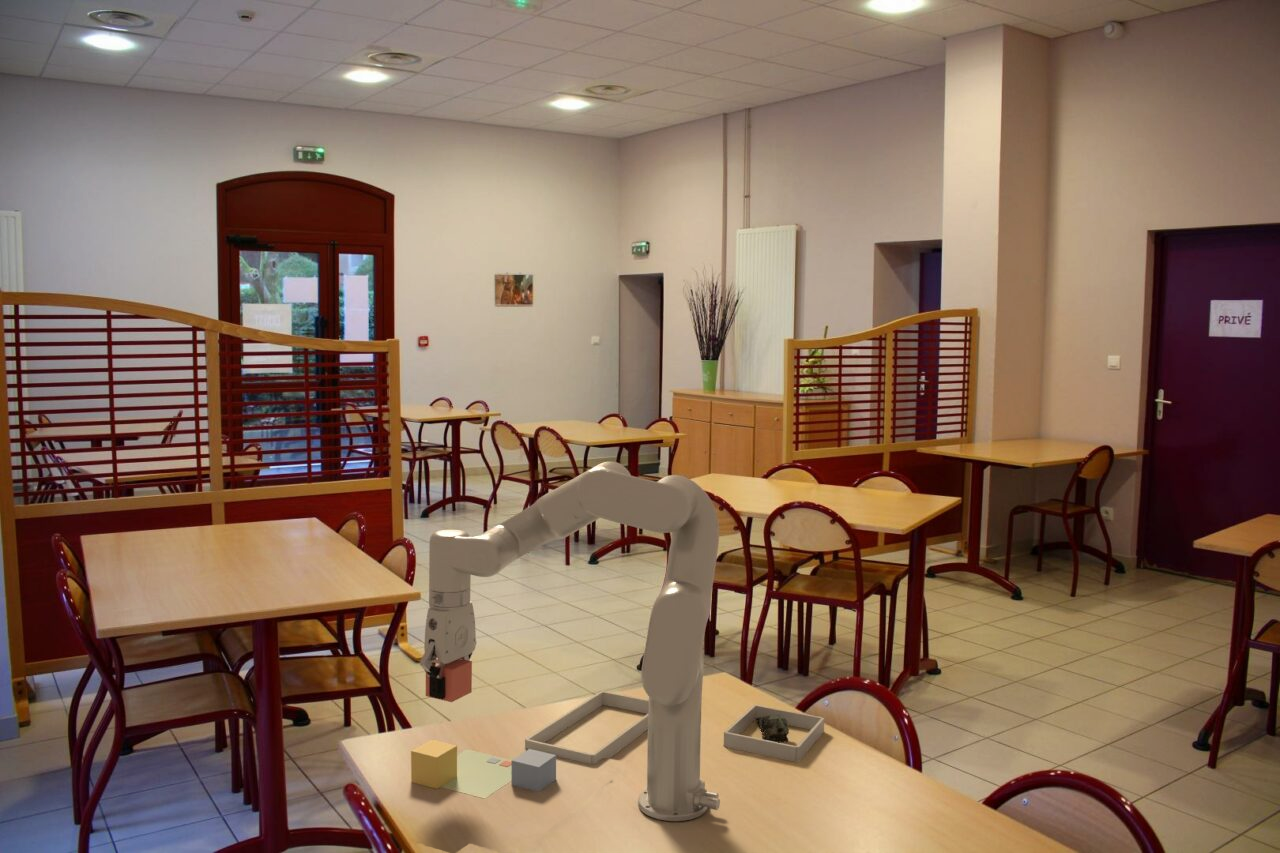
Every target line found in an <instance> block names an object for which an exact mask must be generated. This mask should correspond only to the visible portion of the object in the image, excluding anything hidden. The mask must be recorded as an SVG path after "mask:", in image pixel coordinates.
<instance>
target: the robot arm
mask: <svg viewBox="0 0 1280 853" xmlns="http://www.w3.org/2000/svg"><path fill="white" fill-rule="evenodd" d="M718 517H719V516H718V514H717V511H716V508H715V505H714V502H713V501H712V499H711V498H710V496H709V495H708V493H707V492H706V491H705V490H704V489H703V488H702V487H701V486H700V484H697V483H696V482H695V481H694V480H692V479H690V478H688V477H686V476H683V475H679V474H671V475H670V474H669V475H667V476H665V477H662V478H660V479H659V480H657V481H655V480H650V479H646V478H642V477H639V476H634V475H632V474H631V473H630V471H629V470H628V469H627V468H626V467H625V466H624V465H622V464H621V463H620V462H617V461H604V462H601V463H598V464H597V465H595V466H593V467H591V468H589V469H588V470H586V471H584V472H582V473H581V474H579V475H577V476H575V477H574V478H573V479H570V480H568V481H567V482H565V483H564V484H562V485H560V486H558V487H557V488H555V489H553V490H551V491H549V492H547V493H545V494H544V495H542V496H541V497H539V498H538V499H537V500H536V501H535V502H533V504H531V505H530V506H529V507H526V508H525V509H523V510H522V511H520V512H518V513H517V514H515V515H513V516H511V517H510V518H508V519H506V520H504V521H502V522H501V523H499V524H497V525H495V526H493V527H491V528H489V529H488V530H486V531H484V532H483V533H481V534H478V535H475V536H471V535H470V534H469V533H468V532H467V531H464V530H459V529H439V530H437V531H435V532H433V533H432V534H431V536H430V538H429V546H428V548H429V549H428V550H429V552H428V553H429V554H428V555H429V557H428V558H429V562H428V567H429V570H428V574H429V575H428V579H429V580H428V606H429V607H428V609H427V614H426V621H425V629H424V647H423V649H424V652H423V655H422V656H421V658H420V661H419V666H420V667H421V668H422V669H423V670H424V672H425V674H426V673H427V676H429V677H430V678H429V695H430V697H429V698H431V697H434V698H433V699H435V698H438V699H437V700H440V699H444V698H445V678H444V677H443V674H444V670H445V665H446V664H448V663H451V662H453V661H456V660H458V659H464V660H469V661H471V660H470V659H471V657H472V655H473V653H474V651H475V650H476V646H477V638H476V631H477V630H476V620H475V619H476V617H475V611H474V606H473V601H472V600H471V577H472V576H476V577H479V578H489V577H493V576H495V575H497V574H499V573H500V572H501V571H502V570H504V569H505V568H506V567H508V566H509V565H511V564H512V563H513V562H515V561H516V560H518V559H520V558H522V557H523V556H525V555H527V554H529V553H530V552H532V551H534V550H535V549H538V548H539V547H541V546H543V545H545V544H547V543H550V542H552V541H555V540H562V539H564V538H567V537H569V536H571V535H572V534H574V533H575V532H577V531H579V530H581V529H583V528H585V527H587V526H588V525H590V524H592V523H593V522H595V521H597V520H599V519H604V520H607V521H610V522H614V523H616V524H621V525H626V526H630V527H632V528H633V527H634V528H637V529H642V530H646V531H649V532H654V533H660V534H666V533H667V534H668V533H671V540H670V545H669V551H668V558H667V566H666V570H665V571H666V572H665V577H664V581H663V585H662V588H661V590H660V592H659V593H658V596H657V597H656V599H655V601H654V603H653V605H652V608H651V612H650V617H649V623H648V628H647V633H646V634H647V635H646V640H645V647H644V652H643V659H642V665H641V672H640V677H641V678H640V679H641V684H642V687H643V689H644V691H645V694H646V695H647V697H648V700H649V707H648V729H647V762H646V763H647V770H646V773H647V774H646V789H645V790H643V791H642V792H641V793H640V794H639V796H638V799H637V801H638V802H637V805H638V807H639V809H640V811H642V813H644V814H645V815H646V816H648V817H651V818H653V819H656V820H661V821H666V822H684V821H690V820H694V819H697V818H698V817H702V815H703V814H705V813H706V812H707V810H708V809H710V810H715V811H718V810H719V808H720V807H721V805H720V804H721V800H720V798H719V793H718V792H713V791H708V790H707V789H706V781H705V780H702V779H701V734H702V725H701V724H702V701H703V699H702V698H703V697H702V696H703V683H704V682H703V681H704V680H703V679H704V655H703V651H702V649H703V645H704V639H705V632H706V627H707V624H708V619H709V617H710V614H711V610H712V609H711V608H712V606H711V605H712V593H713V591H712V590H713V587H714V586H713V585H714V580H715V579H714V578H715V573H716V564H717V558H718V550H719V543H720V542H719V541H720V526H719V518H718ZM436 663H438V664H439V668H438V669H437V668H436V667H435V665H436Z"/></svg>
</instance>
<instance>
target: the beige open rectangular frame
mask: <svg viewBox="0 0 1280 853" xmlns="http://www.w3.org/2000/svg"><path fill="white" fill-rule="evenodd" d="M602 706H608V707H613V708H616V709H617V708H618V709H622V710H626V711H632V712H636V713H642V714H645V715H644V716H643V717H641V718H640V719H638V720H637V721H636V722H634V723H633V724H631V726H629V727H628V728H626V729H624V731H622V732H621V733H619V734H618V735H617V736H615V737H614V738H612V739H611V740H610V741H609V742H607V743H605V745H603V746H602V747H600V748H599V749H598V750H596V751H595V752H593V753H591V752H590V753H588V752H586V751H582V750H581V751H580V750H576V749H572V748H567V747H563V746H559V745H554V744H550V743H547V742H548V741H550V740H552V737H553V738H555V737H556V736H557V735H559V734H560V733H562V732H563V731H565V730H566V729H568V728H569V726H570V727H571V726H572V724H573V725H574V724H576V723H577V722H578V721H580V720H582V719H584V718H585V717H586V716H588V715H589V714H591V713H593V712H594V711H595V710H598V709H599V708H600V707H602ZM648 707H649V699H645V698H640V697H636V696H632V695H631V696H630V695H626V694H621V693H615V692H609V691H603V690H601V691H598V693H596V694H593V696H591V697H589V698H587V699H586V700H585V701H583V702H582V703H580V704H578V705H577V706H575V707H574V708H572V709H570V710H569V711H568V712H566V713H564V714H562V715H561V716H559V717H558V718H556V719H555V720H553V721H552V722H550V723H548V724H547V725H545V726H543V727H542V728H541V729H539V730H538V731H536V732H534V733H533V734H531V735H530V736H528V737H526V738H525V739H524V749H526V750H528V749H532V750H537V751H541V752H545V753H549V754H554V755H556V757H558V758H563V759H565V760H566V759H567V760H572V761H576V762H580V763H584V764H589V765H596V764H597V763H599V762H600V761H601V760H602V759H604V758H606V759H611V758H612V757H613V756H615V755H616V754H617V753H618V752H620V751H621V750H623V749H625V747H626V746H628V745H629V744H630V743H632V742H633V741H635V740H636V739H637V738H638V737H639V736H641V735H643V732H644V733H645V732H646V731H648ZM567 727H568V728H567ZM564 729H565V730H564ZM562 730H563V731H562ZM561 731H562V732H561ZM559 732H560V733H559ZM558 733H559V734H558ZM556 734H557V735H556ZM555 735H556V736H555ZM549 739H550V740H549ZM546 741H547V742H546Z"/></svg>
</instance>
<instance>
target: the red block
mask: <svg viewBox="0 0 1280 853" xmlns="http://www.w3.org/2000/svg"><path fill="white" fill-rule="evenodd" d="M469 660H470V659H469ZM469 660H464V659H458V660H456V661H453V662H451V663H448V664H446V665H445V670H444V674H443V677H444V678H445V698H444V699H438V698H434V697H430V695H429V678H430V677H429V676H427V673H426V672H425V697H427V698H431V699H436V700H440V701H444V702H445V701H446V702H450V703H454V702H455V701H458V700H459V699H461V698H463V697H465V696H467V695H468V694H471V693H472V692H473V691H472V689H473V688H472V687H473V686H472V683H473V682H472V681H473V678H472V676H473V671H472V670H473V660H470V661H469ZM435 667H436V668H437V669H438V668H439V664H438V663H436V665H435Z"/></svg>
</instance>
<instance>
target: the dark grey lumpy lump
mask: <svg viewBox="0 0 1280 853" xmlns="http://www.w3.org/2000/svg"><path fill="white" fill-rule="evenodd" d="M755 720H756V724H757V727H758V728H759V730H760V729H761V730H760V731H761V732H762V735H763V736H762V735H761V737H762V738H761V739H763V740H768V741H773V742H780V741H781V742H780V743H782V742H783V743H789V742H788V741H789V740H790V739H789V738H788V735H789V734H790V729H789V727H788V726H789V725H788V724H787V723H788V721H787V720H786V719H785V718H784V717H783V716H781V715H774V714H773V715H769V716H765V717H763V718H762V717H759V718H757V719H755ZM761 732H760V733H761ZM764 734H766V735H764ZM784 741H785V742H784Z"/></svg>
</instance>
